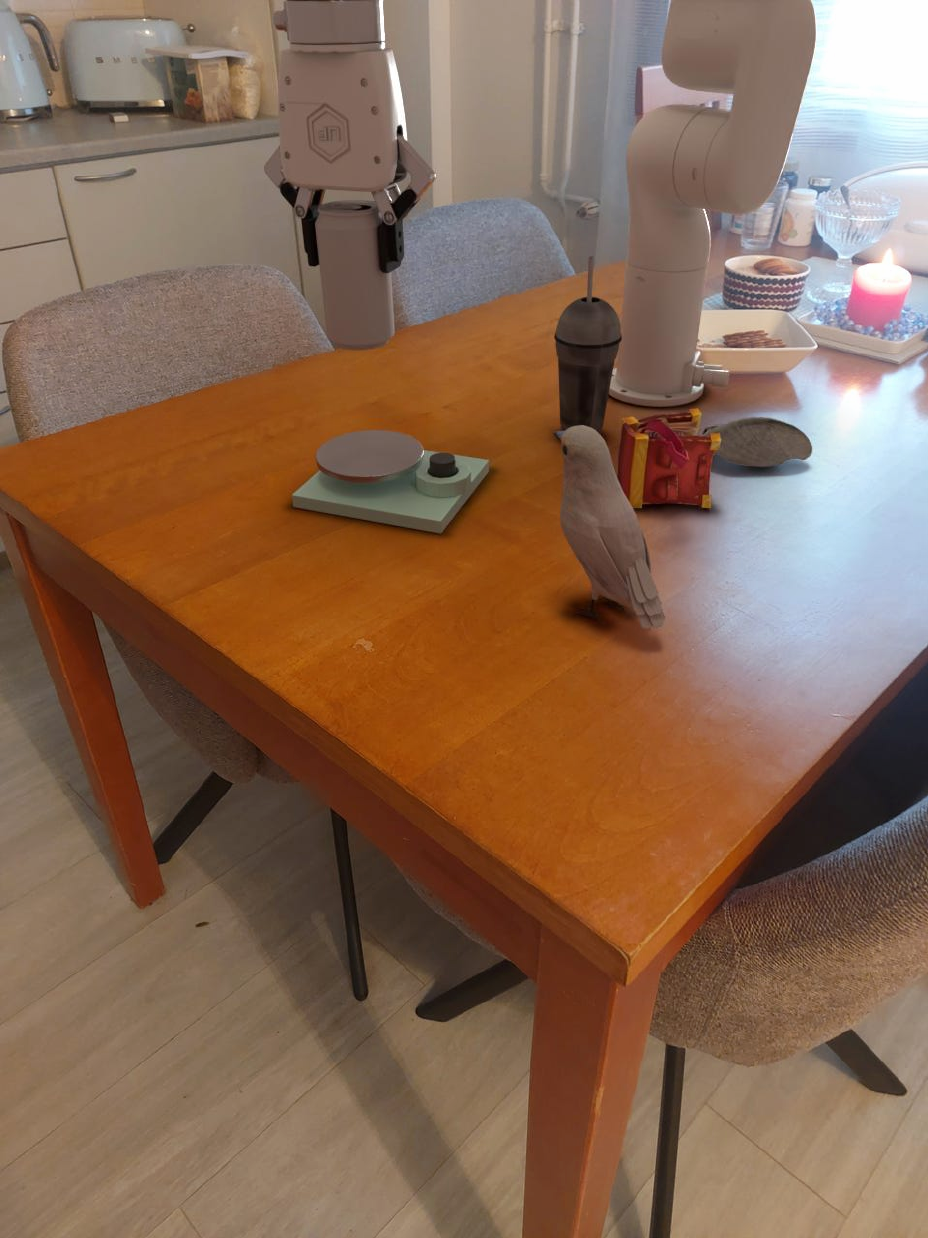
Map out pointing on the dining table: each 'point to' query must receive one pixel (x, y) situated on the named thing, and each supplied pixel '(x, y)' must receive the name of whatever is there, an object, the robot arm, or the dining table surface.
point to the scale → (397, 495)
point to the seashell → (760, 441)
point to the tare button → (442, 465)
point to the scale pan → (369, 456)
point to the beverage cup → (586, 358)
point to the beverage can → (353, 275)
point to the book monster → (666, 460)
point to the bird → (605, 529)
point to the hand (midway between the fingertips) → (354, 264)
